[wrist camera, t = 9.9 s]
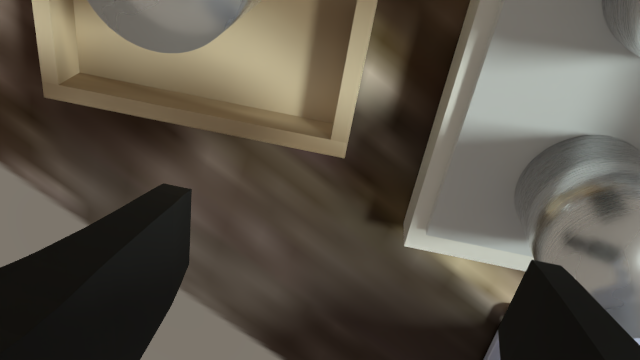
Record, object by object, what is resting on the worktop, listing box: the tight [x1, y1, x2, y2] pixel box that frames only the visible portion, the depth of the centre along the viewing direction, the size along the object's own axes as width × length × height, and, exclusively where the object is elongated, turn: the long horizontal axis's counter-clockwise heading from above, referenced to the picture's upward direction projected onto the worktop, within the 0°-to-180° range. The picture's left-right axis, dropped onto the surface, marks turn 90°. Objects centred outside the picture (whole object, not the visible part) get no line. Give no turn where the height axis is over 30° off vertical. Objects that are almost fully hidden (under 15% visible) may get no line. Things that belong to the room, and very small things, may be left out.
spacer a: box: [514, 135, 640, 339], centre depth 16 cm, size 4×4×4 cm
